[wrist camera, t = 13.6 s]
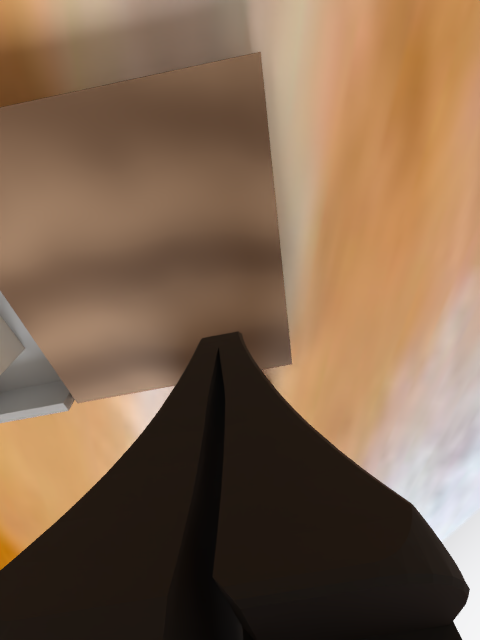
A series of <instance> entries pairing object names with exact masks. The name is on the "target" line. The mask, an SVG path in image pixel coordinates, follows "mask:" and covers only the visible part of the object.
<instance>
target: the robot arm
mask: <svg viewBox="0 0 480 640" xmlns="http://www.w3.org/2000/svg"><path fill="white" fill-rule="evenodd" d="M469 590H470V589H469V587H468V586H467V584H466V582H465V581H464V578H463V576H462V574H461V572H460V570H459V568H458V567H457V565H456V563H455V562H454V560H453V559H452V557H451V556H450V554H449V553H448V551H447V550H446V548H445V547H444V545H443V544H442V542H441V541H440V540H439V538H438V537H437V535H436V534H435V533H434V531H433V530H432V528H431V527H430V526H429V525H428V523H427V522H426V521H425V519H424V518H423V517H422V516H421V514H420V513H419V512H418V511H417V509H416V508H415V507H414V506H413V505H412V504H411V503H410V502H408V501H407V500H406V499H404V498H403V497H401V496H400V495H398V494H397V493H396V492H394V491H393V490H391V489H390V488H388V487H387V486H386V485H384V484H383V483H381V482H380V481H379V480H377V479H376V478H375V477H373V476H372V475H371V474H369V473H368V472H366V471H365V470H364V469H362V468H361V467H360V466H359V465H357V464H356V463H355V462H354V461H352V460H351V459H350V458H348V457H347V456H346V455H345V454H343V453H342V452H341V451H339V450H338V449H337V448H336V447H335V446H334V445H333V444H331V443H330V442H329V441H328V440H327V439H326V438H325V437H323V436H322V435H321V434H320V433H319V432H318V431H316V430H315V429H314V428H313V427H312V426H311V425H310V424H309V423H308V422H306V421H305V420H304V419H303V418H302V417H301V416H300V415H299V414H298V413H297V412H296V411H295V410H294V409H293V408H292V407H291V405H290V404H289V403H288V402H287V401H286V400H285V399H284V398H283V397H282V396H281V395H280V393H279V392H278V391H277V390H276V389H275V388H274V386H273V385H272V384H271V383H270V381H269V380H268V379H267V377H266V376H265V375H264V373H263V372H262V371H261V369H260V368H259V366H258V365H257V363H256V362H255V360H254V359H253V357H252V356H251V354H250V352H249V350H248V348H247V346H246V344H245V342H244V339H243V336H242V333H240V332H239V331H237V332H232V333H226V334H221V335H216V336H210V337H205V338H202V339H201V340H200V342H199V344H198V346H197V348H196V350H195V352H194V354H193V356H192V358H191V359H190V361H189V363H188V365H187V367H186V369H185V370H184V372H183V374H182V376H181V377H180V379H179V381H178V382H177V384H176V386H175V387H174V389H173V390H172V392H171V393H170V395H169V396H168V398H167V399H166V401H165V402H164V404H163V406H162V407H161V408H160V410H159V411H158V413H157V414H156V415H155V417H154V418H153V419H152V421H151V422H150V423H149V425H148V426H147V427H146V429H145V430H144V431H143V432H142V434H141V435H140V436H139V437H138V439H137V440H136V441H135V442H134V443H133V444H132V446H131V447H130V448H129V449H128V450H127V451H126V452H125V453H124V454H123V456H122V457H121V458H120V459H119V460H118V461H117V462H116V463H115V464H114V466H113V467H112V468H111V469H110V470H109V471H108V472H107V473H106V474H105V475H104V476H103V477H102V478H101V479H100V480H99V481H98V482H97V483H96V484H95V485H94V486H93V487H92V488H91V489H90V490H89V491H88V492H87V493H86V494H85V495H84V496H83V497H82V498H81V499H80V500H79V501H78V502H77V503H76V504H75V505H74V506H73V507H72V508H71V509H70V510H69V511H67V512H66V513H65V514H64V515H63V516H62V517H61V518H60V519H59V520H58V521H57V522H56V523H54V524H53V525H52V526H51V527H50V528H49V529H48V530H46V531H45V532H44V533H43V534H42V535H41V536H40V537H38V538H37V539H36V540H35V541H34V542H33V543H32V544H30V545H29V546H28V547H27V548H26V549H25V550H24V551H22V552H21V553H20V554H19V555H18V556H17V557H16V558H14V559H13V560H12V561H11V562H10V563H9V564H7V565H6V566H5V567H4V568H3V569H2V570H0V640H462V638H461V637H460V634H459V632H458V630H457V629H456V626H455V624H454V622H453V620H454V619H455V617H456V616H457V615H458V614H459V612H460V611H461V610H462V608H463V607H464V606H465V604H466V602H467V599H468V595H469Z"/></svg>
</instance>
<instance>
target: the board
mask: <svg viewBox="0 0 480 640" xmlns="http://www.w3.org/2000/svg"><path fill="white" fill-rule="evenodd" d="M0 291H1V293H2V294H3V295H4V297H5V298H6V300H7V301H8V303H9V304H10V306H11V307H12V309H13V310H14V311H15V313H16V314H17V316H18V317H19V319H20V320H21V322H22V323H23V325H24V326H25V328H26V329H27V330H28V332H29V333H30V335H31V336H32V338H33V339H34V341H35V342H36V344H37V345H38V347H39V348H40V349H41V351H42V352H43V354H44V355H45V357H46V358H47V360H48V361H49V363H50V364H51V366H52V367H53V368H54V370H55V371H56V373H57V374H58V376H59V377H60V379H61V380H62V382H63V383H64V384H65V386H66V387H67V389H68V390H69V392H70V393H71V395H72V396H73V398H74V399H75V401H76V402H77V403H82V402H87V401H93V400H98V399H104V398H109V397H115V396H120V395H126V394H131V393H137V392H142V391H148V390H153V389H159V388H164V387H170V386H175V385H176V384H177V382H178V381H179V379H180V377H181V376H182V374H183V372H184V370H185V369H186V367H187V365H188V363H189V361H190V359H191V358H192V356H193V354H194V352H195V350H196V348H197V346H198V344H199V342H200V340H201V339H202V338H205V337H210V336H216V335H221V334H226V333H232V332H237V331H239V332H240V333H242V336H243V339H244V342H245V344H246V346H247V348H248V350H249V352H250V354H251V356H252V357H253V359H254V360H255V362H256V363H257V365H258V366H259V368H260V369H261V370H263V369H268V368H274V367H279V366H285V365H290V364H292V359H291V349H290V339H289V329H288V319H287V309H286V299H285V289H284V279H283V270H282V260H281V250H280V240H279V230H278V220H277V210H276V200H275V190H274V181H273V171H272V161H271V151H270V141H269V131H268V121H267V111H266V101H265V92H264V82H263V72H262V62H261V52H258V53H253V54H248V55H244V56H239V57H234V58H230V59H225V60H220V61H216V62H211V63H206V64H201V65H197V66H192V67H187V68H183V69H178V70H173V71H169V72H164V73H159V74H155V75H150V76H145V77H140V78H136V79H131V80H126V81H122V82H117V83H112V84H108V85H103V86H98V87H94V88H89V89H84V90H80V91H75V92H70V93H65V94H61V95H56V96H51V97H47V98H42V99H37V100H33V101H28V102H23V103H19V104H14V105H9V106H5V107H0Z"/></svg>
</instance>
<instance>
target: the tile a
mask: <svg viewBox="0 0 480 640" xmlns="http://www.w3.org/2000/svg"><path fill="white" fill-rule="evenodd" d="M24 349H25V347H24V346H23V345H22V344H21V342H20V341H19V340H18V338H17V337H16V336H15V334H14V333H13V332H12V330H11V329H10V328H9V327H8V325H7V324H6V323H5V321H4V320H3V319H2V317H1V316H0V375H1V374H2V373H3V372H4V371H5V370H6V369H7V368H8V366H9V365H10V364H11V363H12V362H13V361H14V360H15V359H16V358H17V357H18V356H19V355H20V354H21V353H22V351H23V350H24Z"/></svg>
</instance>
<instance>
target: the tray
mask: <svg viewBox="0 0 480 640" xmlns="http://www.w3.org/2000/svg"><path fill="white" fill-rule="evenodd" d="M0 316H1V317H2V319H3V320H4V321H5V323H6V324H7V325H8V327H9V328H10V329H11V330H12V332H13V333H14V334H15V336H16V337H17V338H18V340H19V341H20V342H21V344H22V345H23V346H24V347H25V349H24V350H23V351H22V353H21V354H20V355H19V356H18V357H17V358H16V359H15V360H14V361H13V362H12V363H11V364H10V365H9V366H8V368H7V369H6V370H5V371H4V372H3V373H2V374H1V375H0V423H4V422H9V421H15V420H20V419H26V418H31V417H37V416H42V415H48V414H53V413H59V412H64V411H69V409H70V407H71V405H72V404H73V402H74V400H75V399H74V398H73V396H72V395H71V393H70V392H69V390H68V389H67V387H66V386H65V384H64V383H63V382H62V380H61V379H60V377H59V376H58V374H57V373H56V371H55V370H54V368H53V367H52V366H51V364H50V363H49V361H48V360H47V358H46V357H45V355H44V354H43V352H42V351H41V349H40V348H39V347H38V345H37V344H36V342H35V341H34V339H33V338H32V336H31V335H30V333H29V332H28V330H27V329H26V328H25V326H24V325H23V323H22V322H21V320H20V319H19V317H18V316H17V314H16V313H15V311H14V310H13V309H12V307H11V306H10V304H9V303H8V301H7V300H6V298H5V297H4V295H3V294H2V293H1V291H0Z"/></svg>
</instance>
